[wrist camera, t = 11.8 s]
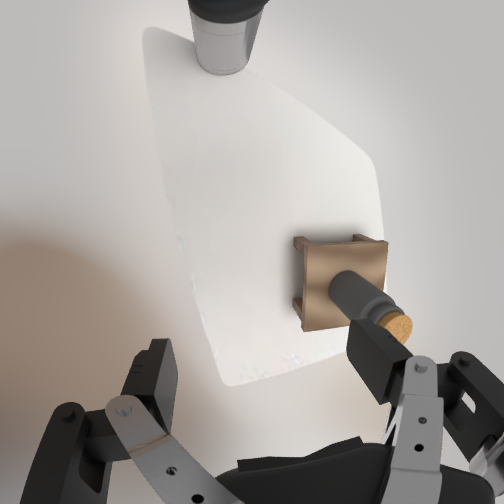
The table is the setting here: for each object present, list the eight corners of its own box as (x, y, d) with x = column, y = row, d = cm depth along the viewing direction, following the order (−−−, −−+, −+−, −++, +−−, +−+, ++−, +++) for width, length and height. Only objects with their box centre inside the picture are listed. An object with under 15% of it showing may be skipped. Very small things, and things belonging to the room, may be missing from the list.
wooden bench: (291, 234, 47) (307, 246, 39) (362, 232, 49) (388, 242, 40) (290, 308, 51) (303, 332, 42) (356, 300, 52) (378, 320, 44)
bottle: (347, 262, 40) (404, 300, 26) (367, 285, 42) (422, 328, 27) (320, 289, 41) (366, 340, 26) (341, 311, 42) (388, 363, 28)
